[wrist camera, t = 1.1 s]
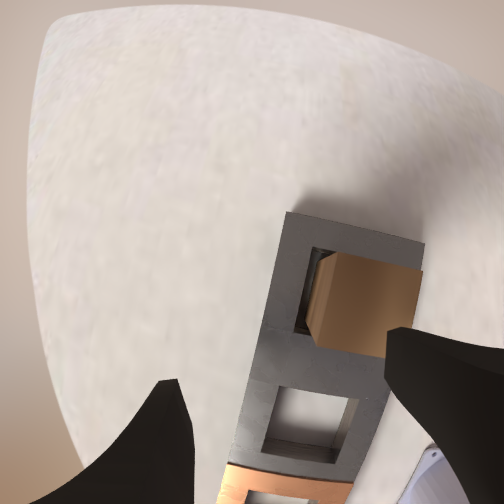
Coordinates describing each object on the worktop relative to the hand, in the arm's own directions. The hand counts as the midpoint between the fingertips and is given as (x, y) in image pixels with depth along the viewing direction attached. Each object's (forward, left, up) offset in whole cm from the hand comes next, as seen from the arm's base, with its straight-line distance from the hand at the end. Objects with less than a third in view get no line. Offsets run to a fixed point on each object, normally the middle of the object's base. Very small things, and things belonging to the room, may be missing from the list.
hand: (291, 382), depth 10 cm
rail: (-3, +6, -12) cm, 14 cm away
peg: (-3, -3, -12) cm, 13 cm away
